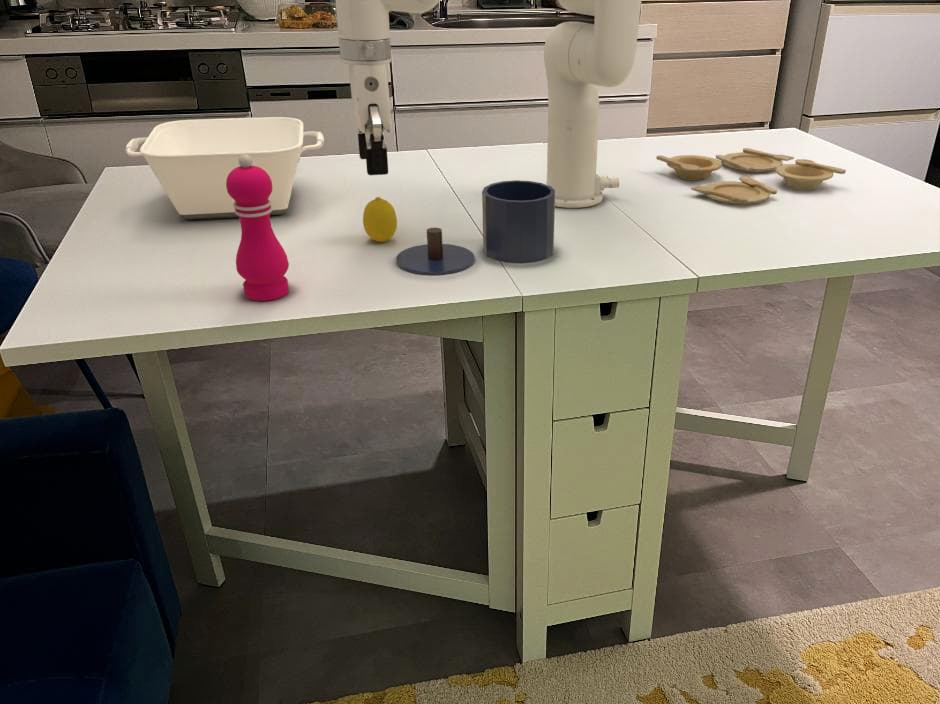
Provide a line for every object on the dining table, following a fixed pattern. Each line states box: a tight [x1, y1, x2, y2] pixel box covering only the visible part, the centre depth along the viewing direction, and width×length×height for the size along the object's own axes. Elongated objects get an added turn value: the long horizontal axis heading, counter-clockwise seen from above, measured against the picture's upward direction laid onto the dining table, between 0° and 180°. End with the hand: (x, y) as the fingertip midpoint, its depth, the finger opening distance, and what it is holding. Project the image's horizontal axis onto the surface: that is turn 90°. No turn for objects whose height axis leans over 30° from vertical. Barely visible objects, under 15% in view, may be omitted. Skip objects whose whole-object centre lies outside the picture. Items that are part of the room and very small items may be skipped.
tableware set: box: [655, 147, 847, 205], centre depth 175 cm, size 35×29×4 cm
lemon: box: [362, 196, 398, 244], centre depth 138 cm, size 6×6×8 cm
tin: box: [481, 179, 556, 265], centre depth 135 cm, size 11×11×10 cm
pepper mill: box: [226, 155, 290, 302], centre depth 117 cm, size 7×7×20 cm
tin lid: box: [395, 227, 476, 276], centre depth 131 cm, size 12×12×6 cm
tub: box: [125, 116, 325, 220], centre depth 153 cm, size 34×27×13 cm
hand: (373, 166), depth 133 cm, fingers open, 9 cm apart
